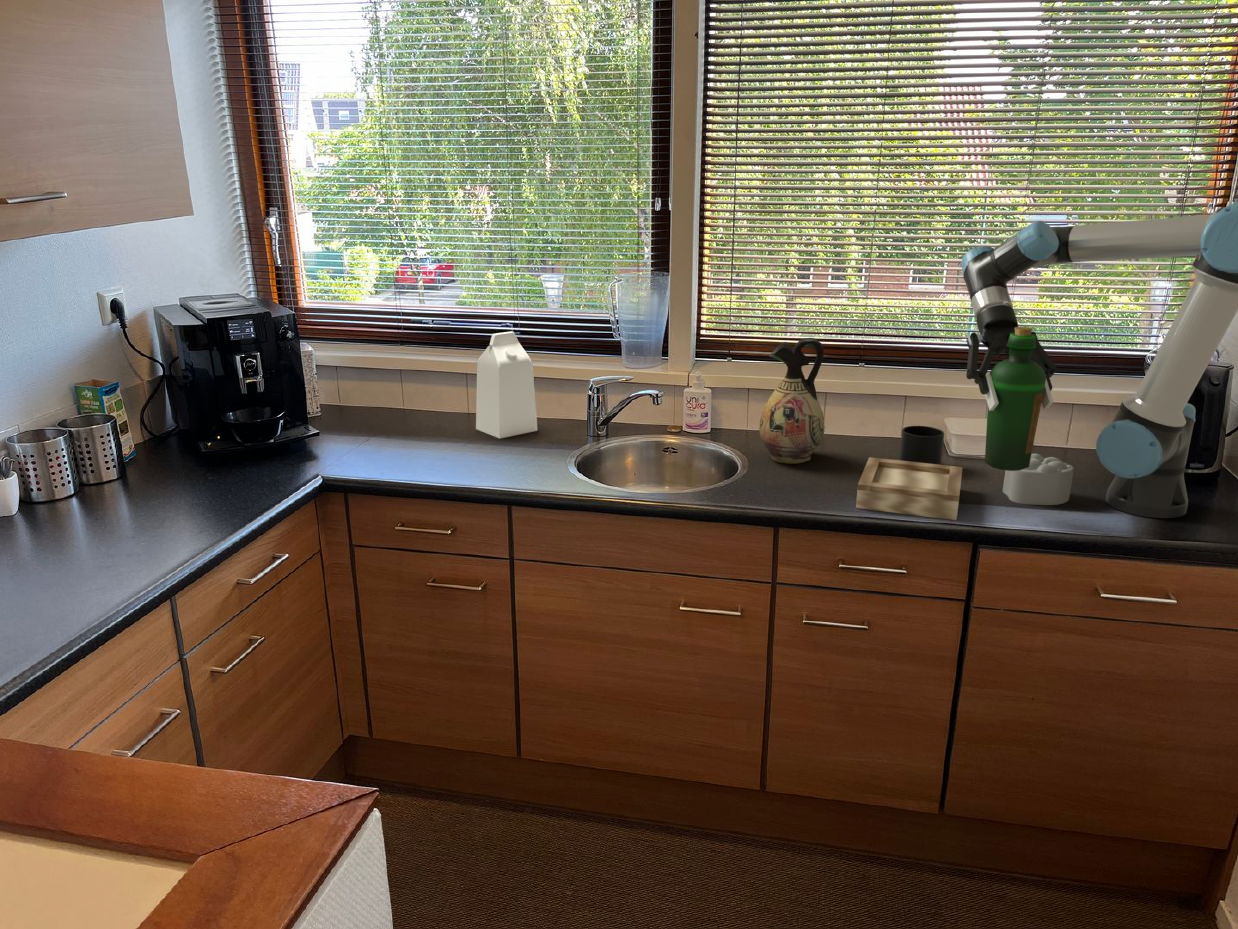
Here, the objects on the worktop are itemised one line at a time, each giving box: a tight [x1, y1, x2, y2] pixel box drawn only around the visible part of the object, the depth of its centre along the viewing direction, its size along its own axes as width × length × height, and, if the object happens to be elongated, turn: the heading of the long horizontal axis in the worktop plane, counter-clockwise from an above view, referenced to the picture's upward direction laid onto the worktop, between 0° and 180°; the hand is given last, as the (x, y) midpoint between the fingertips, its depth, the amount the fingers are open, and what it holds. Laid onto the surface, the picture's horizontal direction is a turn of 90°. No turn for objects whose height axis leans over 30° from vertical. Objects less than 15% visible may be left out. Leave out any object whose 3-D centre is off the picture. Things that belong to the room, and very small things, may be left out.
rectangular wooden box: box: [855, 456, 964, 521], centre depth 206 cm, size 20×20×5 cm
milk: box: [475, 331, 538, 439], centre depth 253 cm, size 12×12×26 cm
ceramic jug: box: [758, 337, 825, 465], centre depth 229 cm, size 17×15×30 cm
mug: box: [898, 425, 945, 465], centre depth 227 cm, size 9×12×9 cm
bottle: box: [984, 326, 1046, 471], centre depth 191 cm, size 11×11×28 cm
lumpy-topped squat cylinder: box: [1002, 453, 1074, 506], centre depth 207 cm, size 10×13×9 cm
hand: (1021, 406), depth 189 cm, fingers closed on bottle, 10 cm apart
